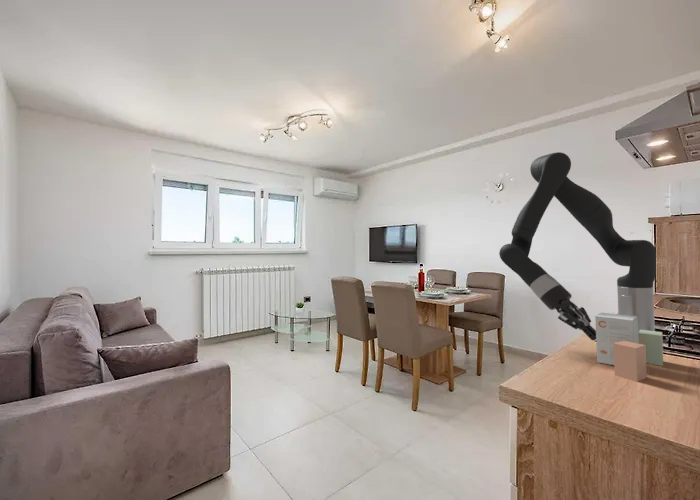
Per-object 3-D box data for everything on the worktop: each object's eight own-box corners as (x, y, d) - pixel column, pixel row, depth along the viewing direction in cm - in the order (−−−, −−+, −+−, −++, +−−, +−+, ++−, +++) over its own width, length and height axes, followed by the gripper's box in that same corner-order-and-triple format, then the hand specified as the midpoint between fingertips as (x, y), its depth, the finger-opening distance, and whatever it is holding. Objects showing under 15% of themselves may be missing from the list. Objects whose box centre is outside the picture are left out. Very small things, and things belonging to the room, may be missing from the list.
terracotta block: (624, 371, 81) (623, 340, 81) (646, 377, 77) (645, 345, 76) (614, 375, 79) (613, 343, 79) (637, 381, 75) (635, 348, 75)
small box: (640, 363, 85) (638, 315, 85) (635, 370, 81) (633, 320, 81) (602, 356, 91) (600, 312, 91) (596, 362, 87) (594, 315, 87)
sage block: (641, 357, 89) (640, 329, 89) (663, 361, 86) (662, 332, 86) (639, 361, 86) (638, 332, 86) (662, 366, 83) (661, 335, 83)
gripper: (547, 285, 94) (598, 335, 84) (568, 281, 101) (617, 327, 91) (530, 301, 99) (575, 350, 89) (551, 296, 106) (595, 341, 96)
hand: (596, 338), depth 90 cm, fingers closed
